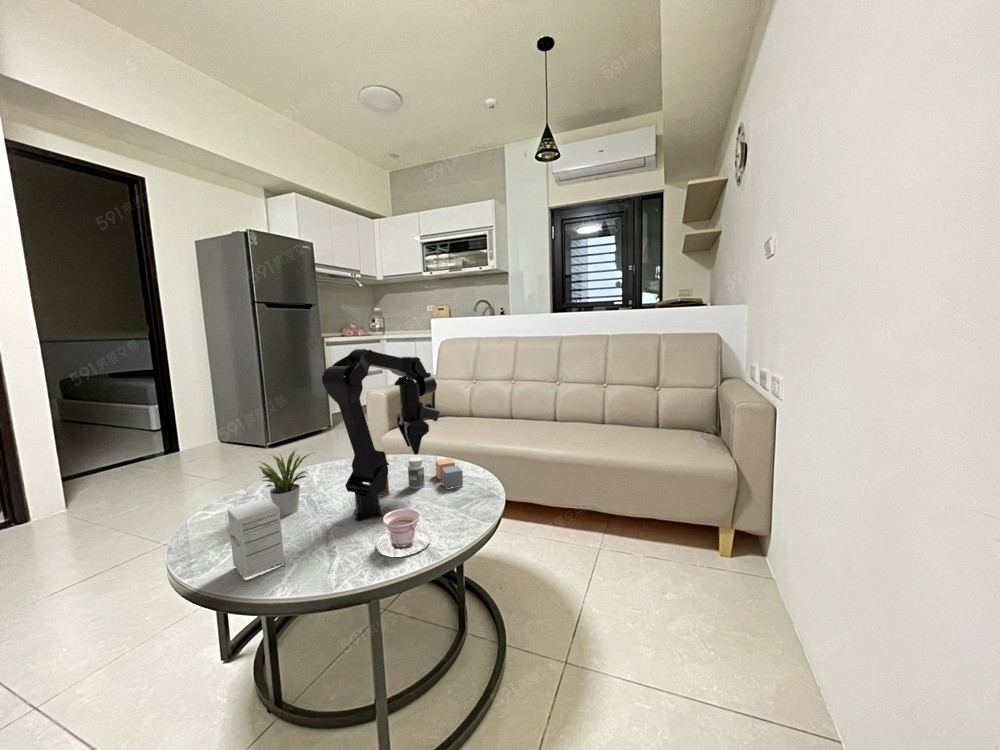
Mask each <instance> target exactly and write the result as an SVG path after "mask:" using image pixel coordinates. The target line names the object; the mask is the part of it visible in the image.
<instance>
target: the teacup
mask: <svg viewBox="0 0 1000 750" xmlns="http://www.w3.org/2000/svg"><path fill="white" fill-rule="evenodd" d="M420 516H421V514H420V513H419V511H416V510H415V509H410V508H400V509H395V510H394V509H393V510H391V511H389V512H388V513H386V514H385V515H384V516H383V518H382V522H383V525H384V526H385V527H386V528H387V530H388V533H385V534H383V535H382V536H381V537H380V538H379V539H377V541H376V543H375V550H376V549H377V550H376V552H377V551H379V549H378V546H379V543H380V542H381V540H383V539H384V538H385V537H387V536H389V535H390V541H391V542H392V543H393V545H395V546H396V545H398V546H403V545H407V544H409V543H410V542H412V541H413V540H414V538H415V531H418V532H422V533H424V534H425V535H427V536H428V539H429V541H428V543H427V544H426V546H427V545H428V544H429V543H430V544H431V542H432V535H431V533H430V532H429V531H427V530H425V529H423V528H420V527H419V528H418V527H416V526H417V525H418V522H419V520H420ZM430 541H431V542H430ZM410 544H411V543H410ZM410 544H409V545H410ZM430 544H429V545H430ZM429 545H428V546H429ZM398 546H397V547H398ZM407 546H408V545H407ZM426 546H425V547H426ZM425 547H424V548H425ZM422 549H423V548H422ZM379 552H380V551H379ZM380 553H381V552H380Z"/></svg>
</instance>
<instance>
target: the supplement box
mask: <svg viewBox="0 0 1000 750" xmlns="http://www.w3.org/2000/svg"><path fill="white" fill-rule="evenodd" d="M227 516H228V526H229V527H228V528H229V535H230V545H231V553H232V561H233V567H234V566H235V567H236V569H237V570H238V571H239V572H240V573H241V575H242V576H243V577H244V578H246V577H249V576H252V575H254V574H257V573H260V572H262V571H266V570H268V569H271V568H274V567H276V566H279V565H282V564H284V563H285V555H284V544H283V543H284V542H283V534H282V533H283V532H282V522H281V521H282V519H281V516H280V511H279V507H278V506H277V505H275V504H274V503H273V501H272V500H271V499H269V497H268V498H267V497H265V498H261V499H257V500H253V501H250V502H247V503H243V504H241V505H238V506H233V507H230V508H228V509H227ZM236 569H235V570H236ZM237 570H236V571H237ZM238 571H237V572H238ZM239 572H238V573H239ZM241 575H240V576H241Z"/></svg>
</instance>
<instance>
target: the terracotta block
mask: <svg viewBox="0 0 1000 750" xmlns="http://www.w3.org/2000/svg"><path fill="white" fill-rule="evenodd" d="M455 464H456V463H455V461H454V460H453V459H452V458H451V457H449V458H448V457H447V458H442V459H436V460H435V475H436V477H437V476H438V477H439V478H438V477H437V478H438V479H439V481H442V480H441V479H442V468H444V467H451V466H456V465H455Z"/></svg>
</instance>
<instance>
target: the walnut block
mask: <svg viewBox="0 0 1000 750" xmlns="http://www.w3.org/2000/svg"><path fill="white" fill-rule="evenodd" d="M368 484H369V485H371V484H372V483H368ZM389 488H390V487H389V477H387V483H386V488H385V490H384V491H382V492H380V493H378V494H379V497H381V496H388V495H390V490H389Z"/></svg>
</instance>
